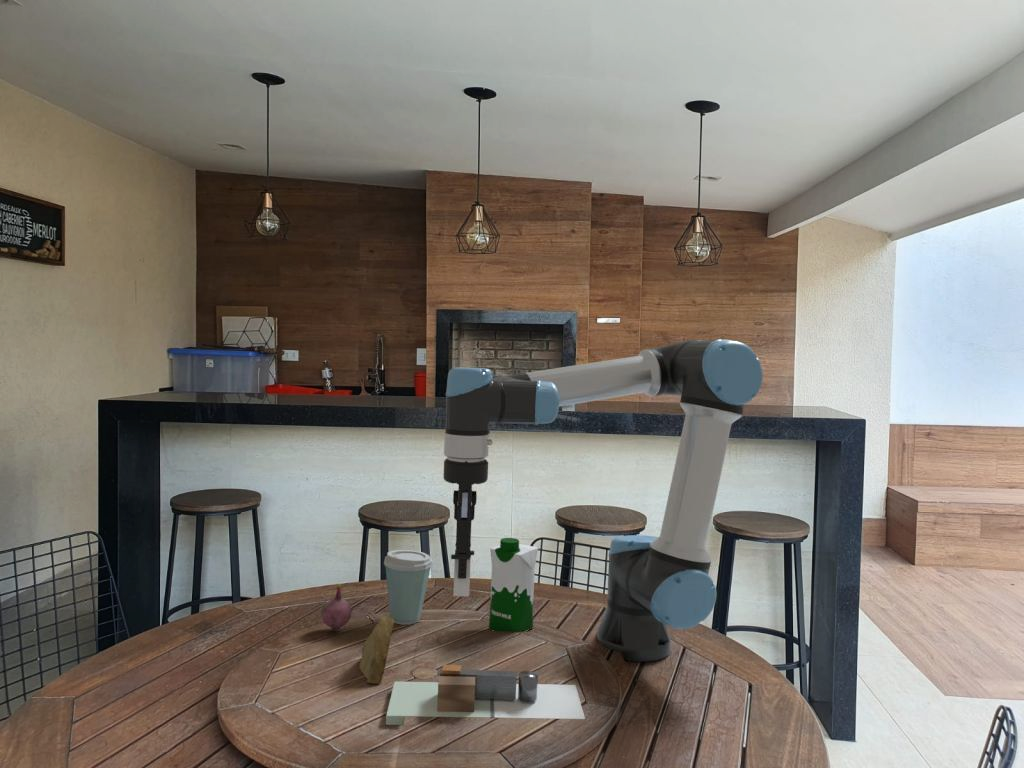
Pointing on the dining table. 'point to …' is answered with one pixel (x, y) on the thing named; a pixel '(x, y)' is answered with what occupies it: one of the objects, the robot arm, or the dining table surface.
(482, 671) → the bar
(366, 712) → the dining table surface
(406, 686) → the door plate
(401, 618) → the disposable coffee cup
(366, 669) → the rock
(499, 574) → the milk carton
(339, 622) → the vegetable
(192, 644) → the dining table surface
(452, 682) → the block
